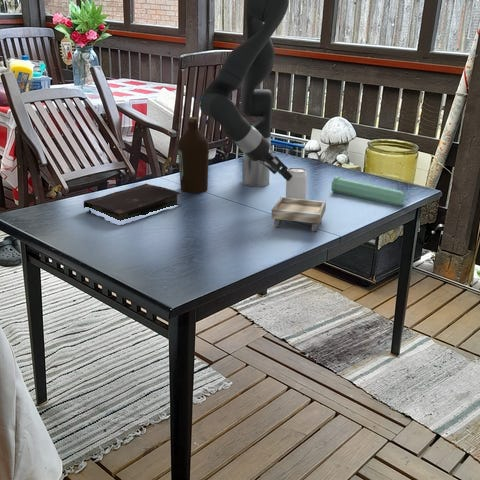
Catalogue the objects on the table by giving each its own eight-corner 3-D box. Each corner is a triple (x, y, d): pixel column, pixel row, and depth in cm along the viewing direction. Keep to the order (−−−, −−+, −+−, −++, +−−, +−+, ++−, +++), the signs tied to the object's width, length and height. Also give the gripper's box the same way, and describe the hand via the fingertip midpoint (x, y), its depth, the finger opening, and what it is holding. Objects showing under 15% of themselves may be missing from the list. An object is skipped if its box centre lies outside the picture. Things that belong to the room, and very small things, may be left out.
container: (407, 187, 193) (338, 172, 206) (400, 197, 190) (330, 182, 203) (407, 201, 197) (339, 186, 210) (400, 211, 193) (331, 196, 206)
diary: (83, 214, 184) (82, 199, 182) (145, 196, 202) (144, 182, 200) (121, 228, 173) (120, 212, 171) (183, 207, 190) (183, 192, 189)
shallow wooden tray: (271, 227, 174) (271, 209, 171) (279, 214, 184) (280, 197, 182) (318, 233, 170) (320, 214, 168) (324, 219, 181) (325, 201, 179)
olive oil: (208, 184, 212) (208, 114, 202) (209, 194, 202) (209, 120, 193) (179, 185, 211) (177, 114, 202) (178, 194, 201) (176, 120, 192)
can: (306, 209, 189) (308, 172, 185) (285, 208, 189) (287, 172, 185) (304, 202, 195) (306, 167, 191) (284, 202, 195) (286, 166, 191)
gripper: (270, 137, 171) (302, 171, 180) (248, 128, 183) (279, 160, 192) (254, 157, 171) (286, 190, 180) (232, 146, 183) (264, 178, 192)
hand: (283, 175), depth 186 cm, fingers open, 8 cm apart
